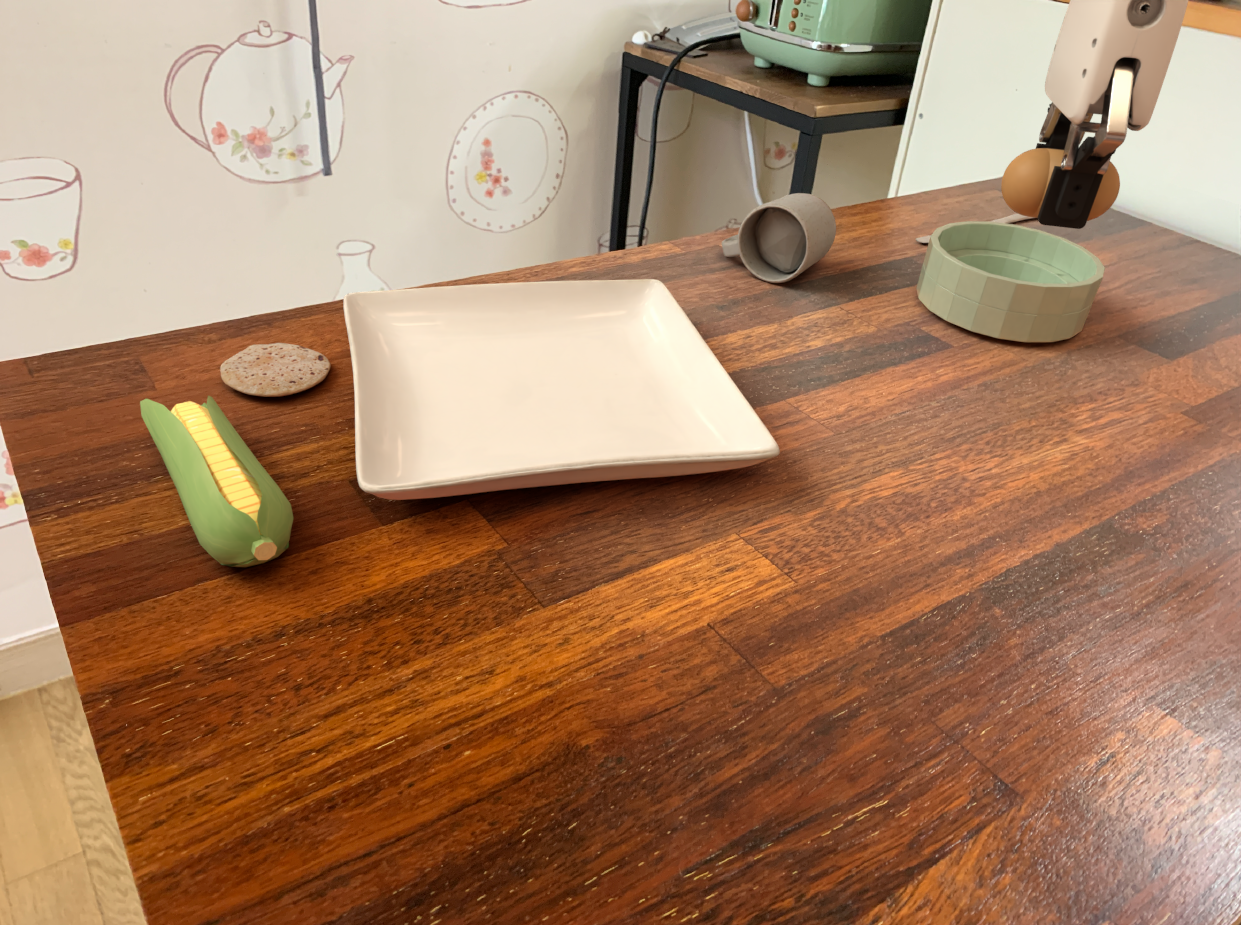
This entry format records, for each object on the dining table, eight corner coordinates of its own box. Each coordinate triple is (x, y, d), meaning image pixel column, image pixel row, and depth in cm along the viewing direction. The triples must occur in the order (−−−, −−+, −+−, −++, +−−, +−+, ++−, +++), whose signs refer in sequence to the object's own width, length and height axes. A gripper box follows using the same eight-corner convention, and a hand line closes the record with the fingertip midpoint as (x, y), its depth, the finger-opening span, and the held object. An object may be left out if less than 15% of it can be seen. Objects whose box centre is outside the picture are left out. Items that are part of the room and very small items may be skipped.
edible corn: (224, 603, 51) (208, 538, 48) (135, 427, 64) (119, 369, 61) (316, 570, 53) (307, 507, 51) (213, 408, 66) (201, 351, 64)
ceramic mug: (833, 267, 95) (848, 193, 91) (801, 293, 90) (815, 215, 85) (741, 242, 100) (751, 170, 95) (704, 264, 94) (713, 189, 90)
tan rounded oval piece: (1095, 212, 70) (1119, 148, 68) (1113, 235, 66) (1139, 168, 64) (988, 200, 71) (1006, 136, 68) (999, 222, 67) (1019, 155, 64)
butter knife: (1077, 209, 114) (1056, 200, 116) (929, 247, 101) (909, 235, 103) (1075, 214, 115) (1055, 205, 117) (927, 251, 102) (907, 240, 104)
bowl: (1061, 289, 95) (1082, 233, 92) (1098, 359, 83) (1124, 297, 79) (909, 268, 97) (924, 212, 93) (922, 334, 84) (940, 272, 81)
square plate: (363, 539, 56) (357, 487, 54) (346, 330, 77) (341, 286, 75) (777, 491, 63) (787, 443, 61) (657, 311, 84) (661, 271, 82)
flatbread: (350, 377, 71) (349, 366, 70) (261, 413, 66) (259, 401, 65) (288, 340, 75) (286, 328, 74) (199, 371, 70) (197, 360, 69)
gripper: (1266, -51, 51) (1138, 262, 61) (1165, -78, 65) (1075, 181, 75) (1124, -63, 51) (1021, 249, 62) (1054, -87, 65) (980, 171, 76)
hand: (1051, 209), depth 68 cm, fingers closed on tan rounded oval piece, 4 cm apart
